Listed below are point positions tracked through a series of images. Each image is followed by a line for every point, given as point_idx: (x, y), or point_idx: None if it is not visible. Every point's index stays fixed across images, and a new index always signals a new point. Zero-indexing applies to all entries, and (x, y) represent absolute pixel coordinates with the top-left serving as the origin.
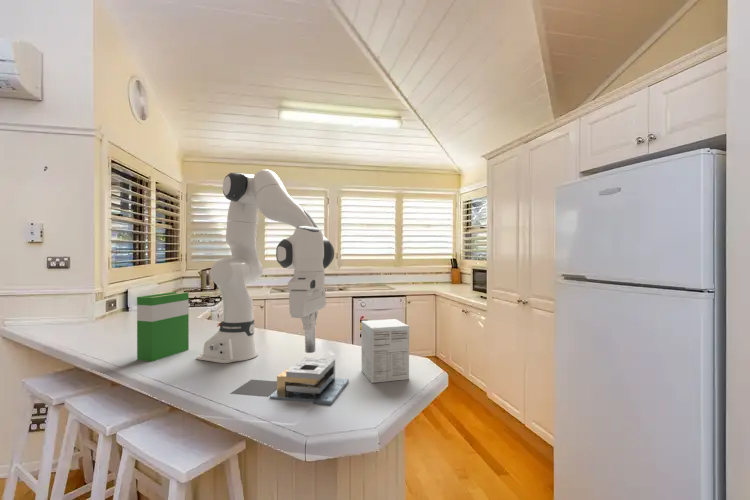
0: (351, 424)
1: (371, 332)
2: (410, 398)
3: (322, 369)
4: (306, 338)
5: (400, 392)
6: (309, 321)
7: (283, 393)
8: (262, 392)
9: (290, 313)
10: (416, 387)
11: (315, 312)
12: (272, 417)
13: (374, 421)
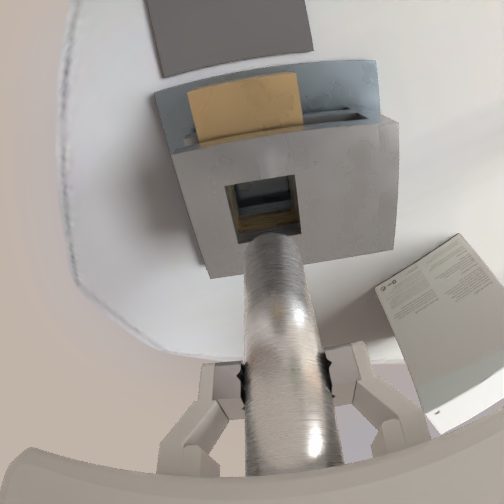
0: (152, 324)
1: (421, 402)
2: None
3: None
4: (245, 306)
5: (328, 344)
6: (219, 436)
7: (192, 117)
8: (186, 35)
9: (10, 466)
10: None
11: (374, 457)
12: (80, 181)
13: (183, 346)
